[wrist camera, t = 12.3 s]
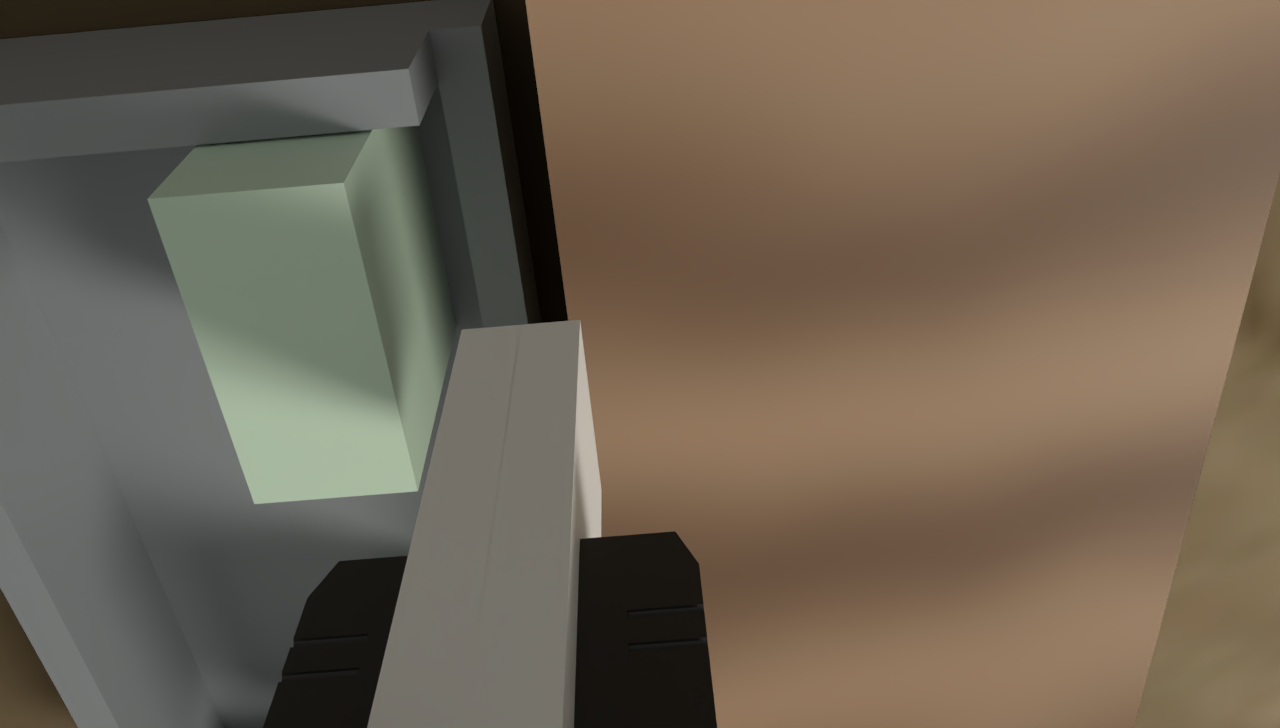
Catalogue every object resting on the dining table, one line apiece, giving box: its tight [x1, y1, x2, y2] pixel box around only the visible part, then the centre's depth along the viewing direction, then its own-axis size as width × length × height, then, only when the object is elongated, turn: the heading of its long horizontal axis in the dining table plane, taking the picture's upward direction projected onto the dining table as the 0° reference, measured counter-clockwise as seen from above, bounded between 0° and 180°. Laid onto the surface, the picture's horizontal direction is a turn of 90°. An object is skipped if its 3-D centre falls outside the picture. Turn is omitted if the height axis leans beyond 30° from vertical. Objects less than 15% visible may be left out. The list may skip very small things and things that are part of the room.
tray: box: [0, 0, 541, 728], centre depth 21 cm, size 18×10×4 cm, turn 5°
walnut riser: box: [525, 0, 1280, 728], centre depth 20 cm, size 20×10×5 cm, turn 5°
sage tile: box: [147, 126, 456, 504], centre depth 17 cm, size 5×5×2 cm
